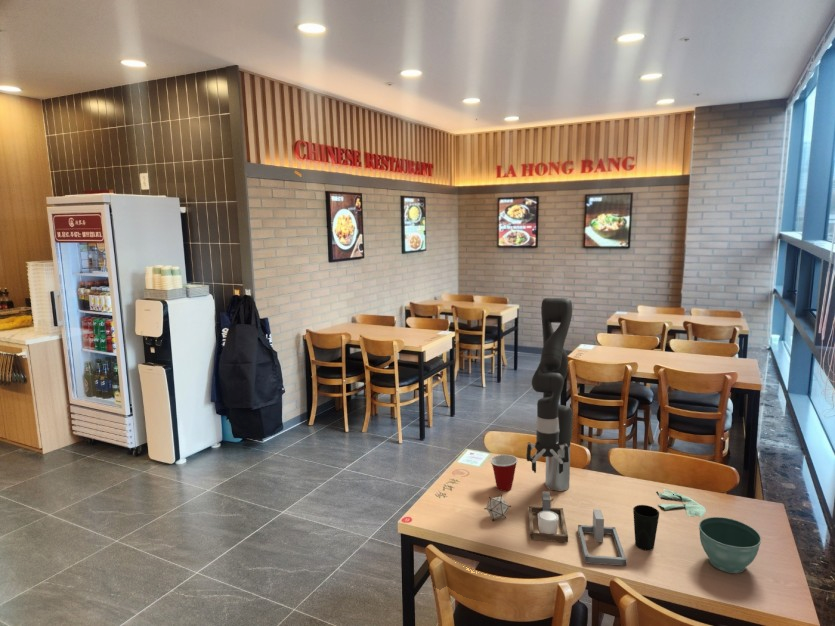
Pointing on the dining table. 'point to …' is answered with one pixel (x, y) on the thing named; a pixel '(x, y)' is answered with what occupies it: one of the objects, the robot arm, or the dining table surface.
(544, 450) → the robot arm
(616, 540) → the grey hollow rectangular frame
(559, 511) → the wooden picture frame
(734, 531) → the green bowl
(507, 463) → the plastic cup
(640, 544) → the cup
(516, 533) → the dining table surface
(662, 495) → the cloth
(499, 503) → the game die
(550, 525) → the white cylinder
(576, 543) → the dining table surface
